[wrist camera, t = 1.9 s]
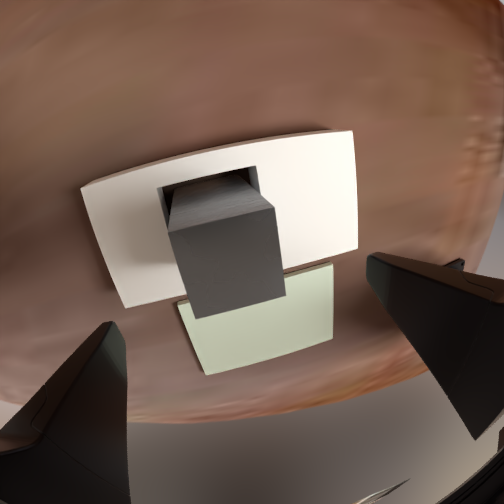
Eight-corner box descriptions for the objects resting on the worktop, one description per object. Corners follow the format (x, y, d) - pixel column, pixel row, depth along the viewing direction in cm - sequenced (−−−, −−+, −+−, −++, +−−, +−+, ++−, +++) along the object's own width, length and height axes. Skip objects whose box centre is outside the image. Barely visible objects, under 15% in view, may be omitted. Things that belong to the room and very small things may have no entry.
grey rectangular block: (236, 174, 18) (274, 207, 10) (247, 231, 19) (286, 295, 12) (174, 188, 17) (167, 232, 10) (189, 246, 19) (195, 319, 12)
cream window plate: (332, 129, 18) (352, 130, 15) (340, 235, 21) (357, 248, 19) (93, 180, 15) (80, 188, 13) (130, 288, 19) (125, 308, 17)
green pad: (330, 261, 22) (332, 264, 21) (330, 335, 25) (332, 338, 25) (177, 301, 20) (177, 305, 20) (205, 371, 24) (205, 375, 23)
